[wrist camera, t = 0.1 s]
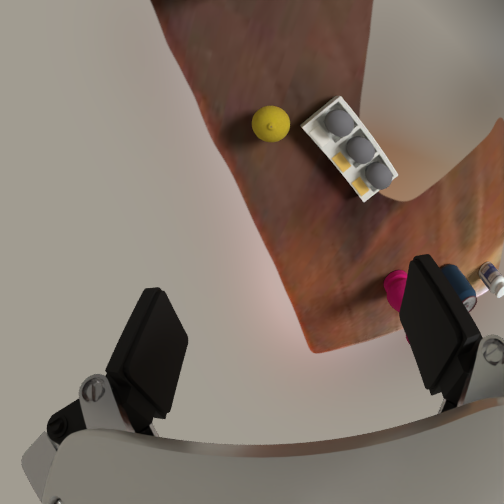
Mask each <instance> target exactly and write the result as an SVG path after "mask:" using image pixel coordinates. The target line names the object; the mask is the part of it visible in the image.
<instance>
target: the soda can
mask: <svg viewBox="0 0 504 504" xmlns="http://www.w3.org/2000/svg"><path fill="white" fill-rule="evenodd" d="M441 271H442V272H443V274H444V275H445V277H446V278H447V279H448V281H449V282H450V284H451V285H452V287H453V288H454V290H455V291H456V293H457V294H458V296H459V298H460V299H461V301H462V302H463V304H464V306H465V307H466V309H467V310H468V312H470V311H471V310H472V309H473V308H474V307H475V305H476V303H477V298H476V292H475V290H474V289H473V287H472V286H471V285H470V283H469V282H468V280H467V279H466V278H465V276H464V275H463V274H462V272H461V271H460V270H459V268H458V267H457V266H455V265H451V264H448V265H445V266H444V267H442V268H441Z"/></svg>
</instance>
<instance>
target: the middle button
mask: <svg viewBox="0 0 504 504" xmlns="http://www.w3.org/2000/svg"><path fill="white" fill-rule="evenodd" d="M346 152H347V154H348V155H349V157H351V158H352V159H353V160H354V161H355V162H357V163H359V164H366V163H369V162H370V161H371V160H372V159H373V157H374V154H375V149H374V146H373V144H372V143H371V142H370V141H369V140H367V139H365V138H363V137H360V136H354V137H352V138H350V139H349V140H348V142H347V144H346Z"/></svg>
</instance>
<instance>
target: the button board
mask: <svg viewBox="0 0 504 504" xmlns="http://www.w3.org/2000/svg"><path fill="white" fill-rule="evenodd" d="M331 110H341V111H345V112H347V113H348V114H350V116H351V117H352V119H353V121H354V128H353V130H352V132H351V133H350V134H349V135H347V136H345V137H338V136H335V135H334V134H332V133H331V132H329V131H328V130H327V129H326V127H325V124H324V119H325V116H326V114H327V113H328V112H329V111H331ZM300 126H301V127H302V128H303V130H304V131H305V132H306V133H307V134H308V135H309V136H310V137H311V138H312V139H313V141H314V142H315V143H316V144H317V145H318V146H319V147H320V149H321V150H322V151H323V152H324V153H325V154H326V155H327V157H328V158H329V159H330V160H331V161H332V163H333V164H334V165H335V166H336V167H337V169H338V170H339V171H340V172H341V174H342V175H343V176H344V177H345V179H346V180H347V181H348V182H349V184H350V185H351V186H352V188H353V189H354V190H355V191H356V193H357V194H358V195H359V197H360V198H361V199H362V201H363V202H365V201H366V200H368V199H369V198H370V197H371V196H373V195H374V194H375V193H377V192H378V191H379V189H376V188H374V187H373V186H372V185H371V184H370V183H369V182H368V181H367V179H366V177H365V170H366V168H367V166H368V165H369V164H370V163H372V162H380V163H382V164H383V165H385V166H386V167H387V168H389V169H390V171H391V173H392V180H393V179H394V178H395V177H397V176H398V174H397V172H396V170H395V169H394V167H393V166H392V164H391V163H390V161H389V160H388V158H387V157H386V155H385V154H384V152H383V151H382V149H381V148H380V146H379V145H378V144H377V142H376V141H375V139H374V138H373V137H372V135H371V134H370V133H369V131H368V130H367V128H366V127H365V126H364V124H363V123H362V122H361V121H360V119H359V118H358V117H357V115H356V114H355V113H354V112H353V110H352V109H351V108H350V107H349V106H348V104H347V103H346V102H345V101H344V100H343V98H342V97H341V96H335V97H334V98H333V99H331V100H330V101H329V102H328V103H326V104H325V105H324V106H323V107H322V108H320V109H319V110H318V111H317V112H315V113H314V114H313V115H312V116H311V117H309V118H308V119H307V120H306V121H305V122H303V123H302V124H301V125H300ZM354 136H360V137H363V138H365V139H367V140H369V141H370V142H371V143H372V144H373V146H374V149H375V154H374V157H373V159H372V160H371V161H370V162H369V163H366V164H359V163H357V162H355V161H354V160H353V159H352V158H351V157H349V155H348V154H347V152H346V144H347V142H348V140H349V139H350V138H352V137H354Z"/></svg>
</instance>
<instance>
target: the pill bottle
mask: <svg viewBox="0 0 504 504" xmlns="http://www.w3.org/2000/svg"><path fill="white" fill-rule="evenodd" d="M479 277H480V278H481V280H482V281H483V282H484V284H485V285H486V286H487V288H488V289H489V290H490V292H491V293H495V295H496V296H497V297H498V298H500V297H502V296H503V295H504V278H503V276H502V275H501V274H500V273H499V271H498V270H497V269H496V268H495V267H494V265H493V264H492V263H491V262H486V263H484V264H483V265H482V267H481V268H480V270H479Z"/></svg>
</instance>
